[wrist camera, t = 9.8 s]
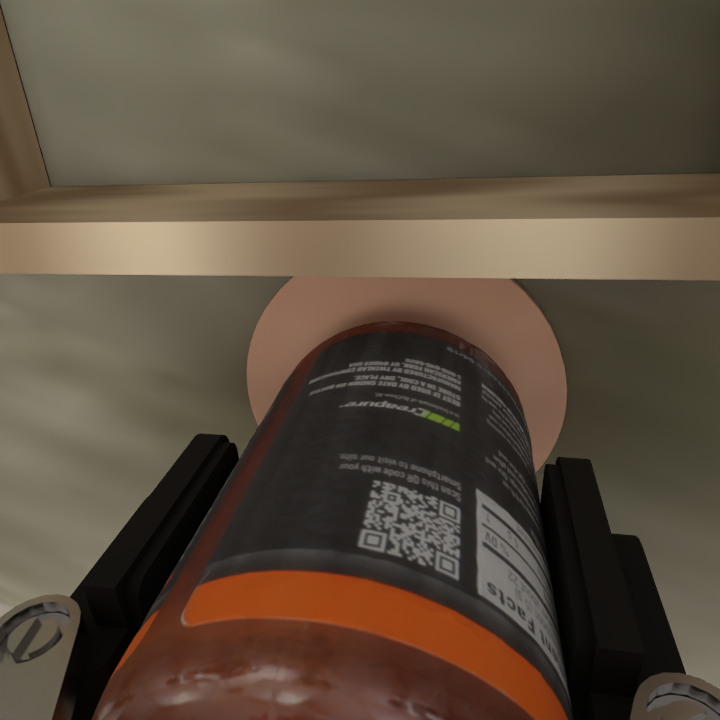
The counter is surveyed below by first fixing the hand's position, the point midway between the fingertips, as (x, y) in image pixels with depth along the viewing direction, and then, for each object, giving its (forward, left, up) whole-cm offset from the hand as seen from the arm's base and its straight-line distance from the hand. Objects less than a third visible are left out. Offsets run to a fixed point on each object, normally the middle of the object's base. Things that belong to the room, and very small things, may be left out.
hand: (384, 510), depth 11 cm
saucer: (0, 0, -5) cm, 5 cm away
